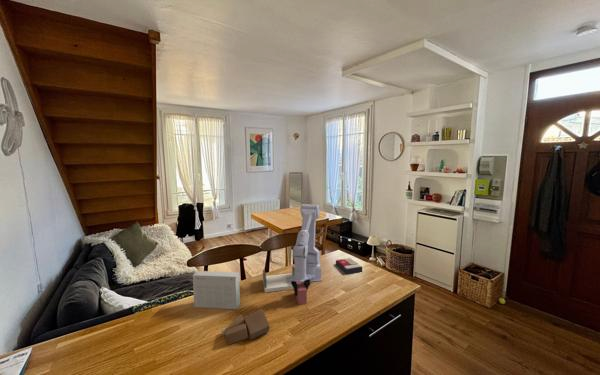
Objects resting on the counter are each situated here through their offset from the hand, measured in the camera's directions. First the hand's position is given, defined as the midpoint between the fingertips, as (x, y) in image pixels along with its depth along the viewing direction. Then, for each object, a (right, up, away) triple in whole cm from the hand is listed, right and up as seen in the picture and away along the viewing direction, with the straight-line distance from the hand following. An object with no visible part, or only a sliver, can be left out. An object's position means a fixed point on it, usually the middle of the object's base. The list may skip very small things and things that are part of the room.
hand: (300, 294), depth 124 cm
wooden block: (-22, -6, -23) cm, 33 cm away
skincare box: (-40, -3, -5) cm, 40 cm away
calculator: (+31, +2, +33) cm, 45 cm away
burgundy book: (0, -2, 0) cm, 2 cm away
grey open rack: (-11, 0, +14) cm, 18 cm away
